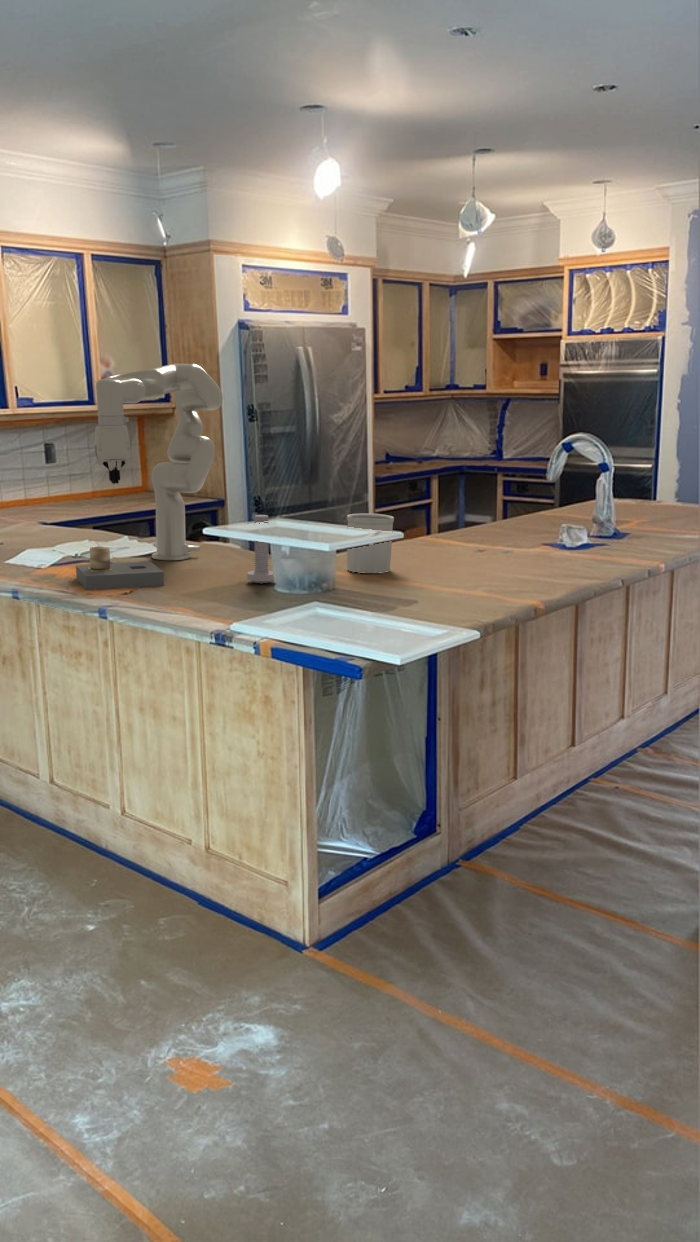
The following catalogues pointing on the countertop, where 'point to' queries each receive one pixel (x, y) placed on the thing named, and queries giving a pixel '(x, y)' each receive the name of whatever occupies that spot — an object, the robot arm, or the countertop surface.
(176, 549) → the robot arm
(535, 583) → the countertop surface
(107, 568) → the peg
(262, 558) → the screw
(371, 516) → the utensil holder
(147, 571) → the seat block
